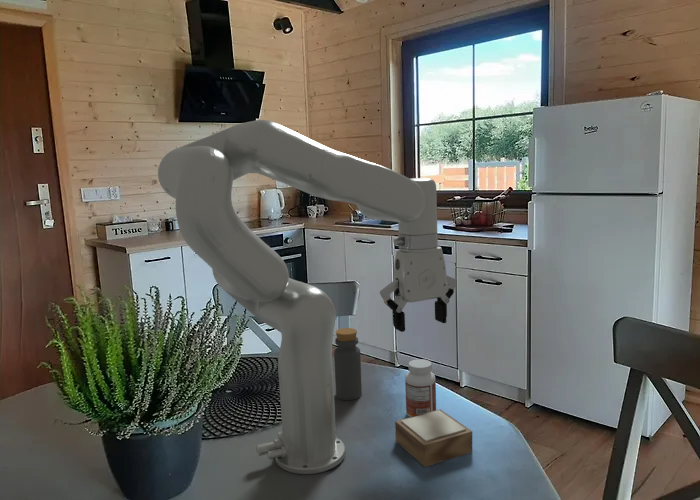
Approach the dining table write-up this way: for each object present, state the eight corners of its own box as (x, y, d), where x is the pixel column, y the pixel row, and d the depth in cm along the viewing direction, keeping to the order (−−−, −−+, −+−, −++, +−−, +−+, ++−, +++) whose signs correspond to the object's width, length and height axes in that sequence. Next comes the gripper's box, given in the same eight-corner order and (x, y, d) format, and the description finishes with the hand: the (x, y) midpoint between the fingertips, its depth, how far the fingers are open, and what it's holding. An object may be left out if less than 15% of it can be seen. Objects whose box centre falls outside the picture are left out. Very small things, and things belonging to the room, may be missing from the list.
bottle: (333, 391, 127) (330, 329, 124) (357, 387, 128) (354, 325, 126) (340, 402, 121) (337, 336, 119) (365, 397, 123) (363, 333, 120)
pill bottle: (420, 404, 118) (419, 355, 116) (442, 414, 114) (441, 363, 112) (399, 414, 114) (398, 363, 113) (421, 424, 110) (420, 371, 108)
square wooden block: (424, 466, 95) (424, 443, 94) (395, 441, 104) (395, 419, 103) (472, 452, 99) (472, 429, 98) (440, 428, 108) (440, 407, 107)
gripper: (388, 249, 101) (392, 338, 104) (466, 239, 108) (467, 323, 111) (370, 244, 108) (373, 328, 111) (444, 235, 115) (445, 314, 118)
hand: (420, 325), depth 111 cm, fingers open, 9 cm apart
